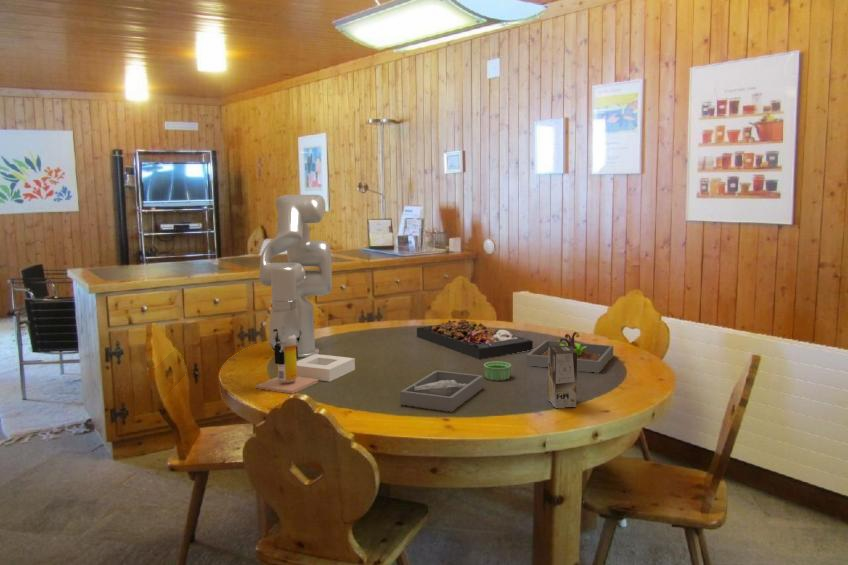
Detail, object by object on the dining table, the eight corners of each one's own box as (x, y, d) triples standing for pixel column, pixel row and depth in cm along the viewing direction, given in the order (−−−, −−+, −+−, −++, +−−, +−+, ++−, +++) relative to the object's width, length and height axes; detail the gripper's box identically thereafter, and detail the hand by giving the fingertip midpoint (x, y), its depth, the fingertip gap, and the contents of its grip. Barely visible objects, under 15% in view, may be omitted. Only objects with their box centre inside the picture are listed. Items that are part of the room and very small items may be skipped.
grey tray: (400, 404, 204) (400, 391, 203) (435, 382, 226) (435, 370, 225) (451, 412, 197) (451, 398, 196) (483, 388, 219) (483, 375, 219)
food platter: (532, 352, 268) (532, 325, 266) (479, 361, 255) (479, 333, 254) (466, 331, 306) (465, 308, 304) (416, 338, 294) (416, 313, 292)
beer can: (300, 378, 226) (299, 332, 224) (291, 383, 220) (289, 336, 218) (283, 377, 228) (282, 331, 226) (274, 382, 222) (272, 335, 220)
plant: (565, 372, 238) (566, 339, 237) (532, 359, 256) (533, 328, 254) (612, 365, 247) (613, 333, 245) (578, 353, 264) (578, 323, 263)
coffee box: (577, 408, 199) (578, 352, 197) (554, 409, 199) (555, 353, 196) (567, 398, 208) (568, 345, 206) (546, 399, 208) (547, 345, 205)
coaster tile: (255, 388, 221) (255, 385, 221) (282, 377, 234) (282, 374, 233) (292, 394, 215) (292, 390, 215) (318, 382, 228) (318, 379, 227)
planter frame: (526, 366, 245) (526, 354, 245) (545, 350, 268) (545, 340, 267) (599, 373, 235) (599, 361, 234) (613, 356, 257) (613, 345, 256)
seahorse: (457, 382, 222) (405, 383, 210) (481, 377, 213) (427, 378, 201) (459, 399, 220) (406, 401, 209) (483, 394, 212) (429, 396, 200)
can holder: (288, 376, 235) (288, 364, 234) (315, 365, 249) (315, 353, 249) (329, 381, 228) (329, 369, 228) (354, 369, 242) (354, 358, 242)
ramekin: (478, 376, 234) (478, 363, 233) (502, 372, 237) (502, 360, 237) (491, 382, 225) (492, 369, 225) (516, 379, 229) (516, 366, 228)
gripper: (291, 300, 230) (292, 354, 233) (257, 309, 215) (259, 366, 217) (310, 301, 227) (312, 356, 230) (277, 311, 211) (279, 369, 214)
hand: (286, 360), depth 223 cm, fingers open, 6 cm apart
